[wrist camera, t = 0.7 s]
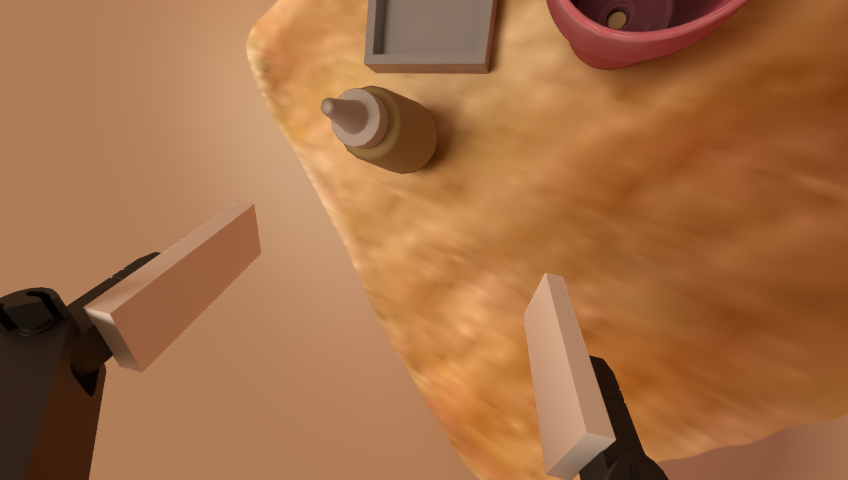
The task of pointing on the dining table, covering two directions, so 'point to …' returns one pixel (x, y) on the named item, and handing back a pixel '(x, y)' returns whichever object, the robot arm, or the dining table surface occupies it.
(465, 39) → the tray
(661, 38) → the plant pot
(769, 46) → the dining table surface
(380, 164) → the squeeze bottle
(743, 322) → the dining table surface
